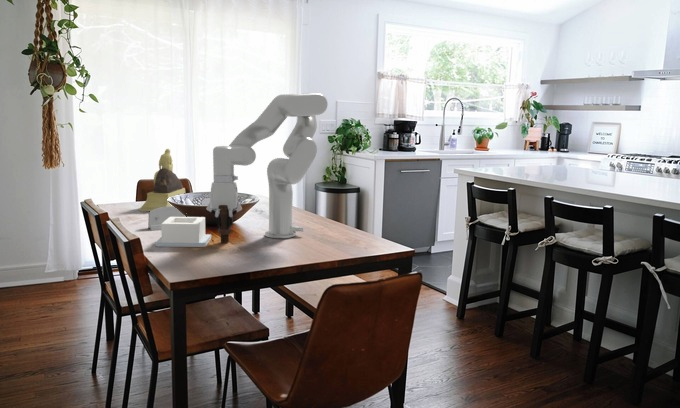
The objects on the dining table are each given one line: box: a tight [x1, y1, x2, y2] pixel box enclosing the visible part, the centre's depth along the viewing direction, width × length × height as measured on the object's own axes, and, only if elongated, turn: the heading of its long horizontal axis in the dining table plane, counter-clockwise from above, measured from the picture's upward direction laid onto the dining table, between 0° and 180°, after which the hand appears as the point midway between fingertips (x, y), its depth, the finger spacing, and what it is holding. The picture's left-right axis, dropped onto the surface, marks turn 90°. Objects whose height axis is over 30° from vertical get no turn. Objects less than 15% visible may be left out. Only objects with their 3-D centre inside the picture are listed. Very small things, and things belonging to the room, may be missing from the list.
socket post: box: [155, 216, 212, 248], centre depth 206 cm, size 18×14×8 cm
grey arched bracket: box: [147, 206, 186, 231], centre depth 231 cm, size 17×5×10 cm, turn 121°
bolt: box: [217, 205, 232, 244], centre depth 206 cm, size 6×5×15 cm
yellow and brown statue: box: [139, 148, 186, 212], centre depth 275 cm, size 28×13×30 cm, turn 174°
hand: (224, 226), depth 207 cm, fingers closed on bolt, 3 cm apart
